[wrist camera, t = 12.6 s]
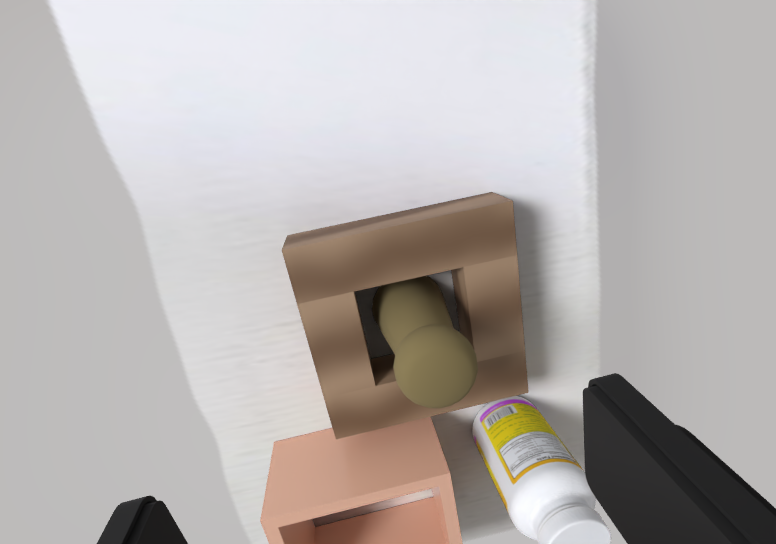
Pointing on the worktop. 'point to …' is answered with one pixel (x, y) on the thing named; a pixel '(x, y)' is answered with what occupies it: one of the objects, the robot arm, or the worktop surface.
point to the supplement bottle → (537, 475)
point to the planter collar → (360, 488)
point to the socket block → (398, 263)
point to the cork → (424, 343)
